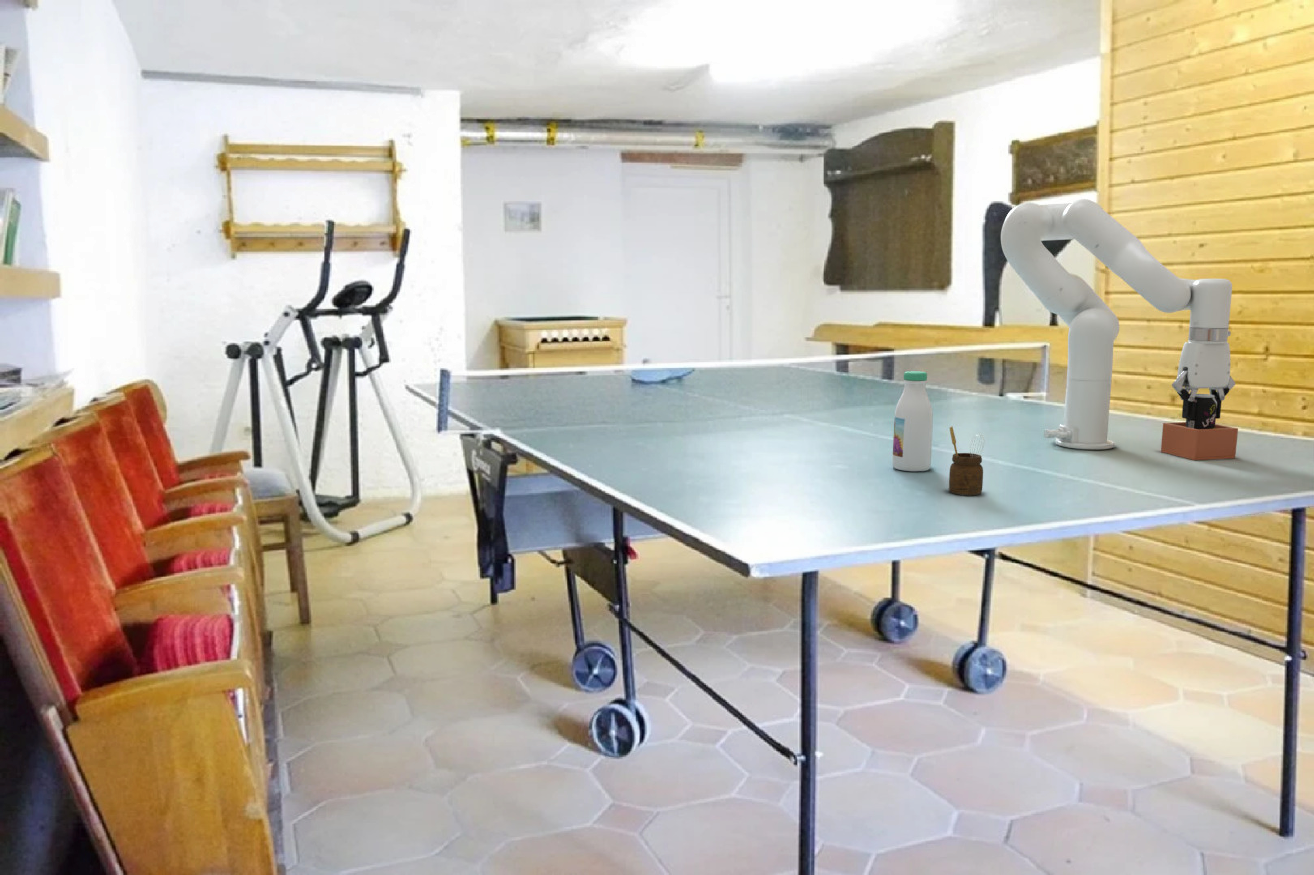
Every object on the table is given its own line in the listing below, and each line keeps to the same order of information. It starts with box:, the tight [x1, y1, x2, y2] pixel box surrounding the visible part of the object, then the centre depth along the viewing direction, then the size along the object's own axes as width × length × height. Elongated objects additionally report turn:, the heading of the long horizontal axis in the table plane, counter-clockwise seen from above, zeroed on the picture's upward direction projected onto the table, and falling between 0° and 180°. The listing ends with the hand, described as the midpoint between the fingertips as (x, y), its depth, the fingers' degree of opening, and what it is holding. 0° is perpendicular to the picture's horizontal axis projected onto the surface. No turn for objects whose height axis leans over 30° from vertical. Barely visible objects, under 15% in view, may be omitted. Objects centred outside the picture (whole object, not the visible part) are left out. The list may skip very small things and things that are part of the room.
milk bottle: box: [891, 370, 934, 472], centre depth 207 cm, size 8×8×20 cm
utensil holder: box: [948, 426, 986, 496], centre depth 186 cm, size 6×6×12 cm
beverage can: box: [1185, 393, 1217, 429], centre depth 223 cm, size 6×6×12 cm
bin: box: [1160, 421, 1239, 461], centre depth 224 cm, size 10×10×7 cm
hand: (1200, 417), depth 223 cm, fingers closed on beverage can, 5 cm apart
